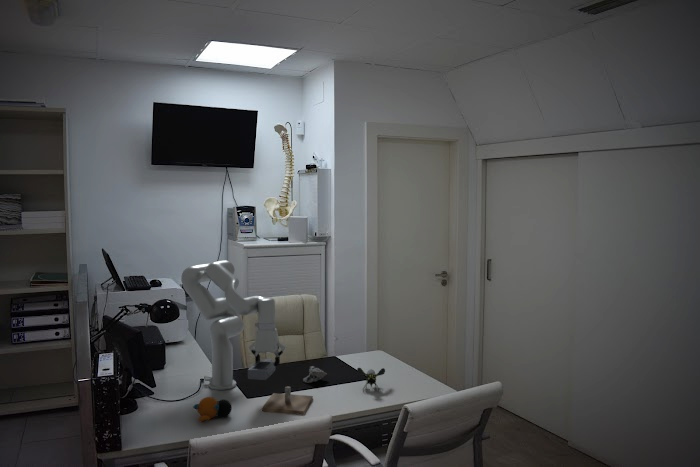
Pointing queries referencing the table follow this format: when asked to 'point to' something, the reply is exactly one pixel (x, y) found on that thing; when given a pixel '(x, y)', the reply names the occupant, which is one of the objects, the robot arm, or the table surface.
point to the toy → (212, 408)
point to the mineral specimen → (314, 375)
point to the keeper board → (287, 403)
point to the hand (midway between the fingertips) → (267, 364)
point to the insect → (371, 376)
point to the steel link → (261, 369)
